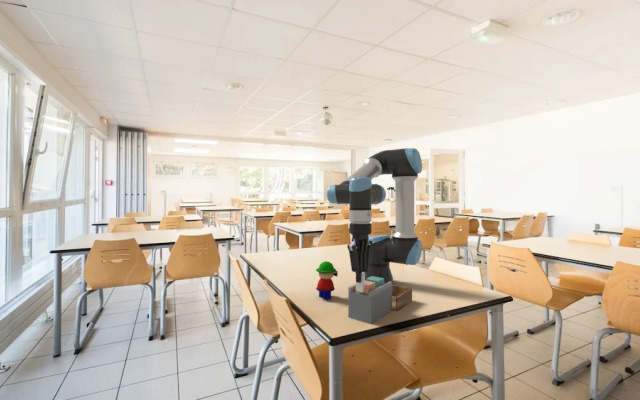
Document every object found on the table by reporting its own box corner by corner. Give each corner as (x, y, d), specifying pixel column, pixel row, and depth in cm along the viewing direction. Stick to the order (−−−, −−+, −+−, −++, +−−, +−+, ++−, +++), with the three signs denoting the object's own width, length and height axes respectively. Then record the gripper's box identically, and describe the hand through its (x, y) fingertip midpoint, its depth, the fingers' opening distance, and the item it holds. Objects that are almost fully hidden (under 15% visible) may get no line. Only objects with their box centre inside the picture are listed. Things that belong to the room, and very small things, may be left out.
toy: (312, 295, 130) (312, 260, 130) (329, 292, 134) (329, 258, 133) (321, 301, 122) (321, 264, 122) (339, 298, 125) (340, 262, 125)
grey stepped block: (348, 317, 106) (348, 287, 106) (370, 304, 119) (370, 277, 119) (371, 323, 101) (371, 292, 101) (392, 309, 113) (392, 281, 113)
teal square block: (365, 286, 112) (365, 278, 112) (372, 283, 115) (372, 276, 115) (377, 289, 108) (377, 281, 108) (384, 286, 112) (384, 278, 112)
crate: (366, 303, 120) (366, 290, 120) (382, 294, 131) (382, 282, 131) (397, 311, 112) (397, 297, 112) (412, 300, 123) (412, 288, 123)
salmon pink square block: (355, 291, 106) (355, 283, 106) (362, 288, 110) (362, 280, 110) (368, 294, 103) (368, 285, 103) (375, 290, 107) (375, 282, 107)
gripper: (359, 224, 96) (359, 298, 96) (379, 221, 106) (379, 288, 107) (340, 223, 101) (340, 293, 101) (360, 220, 111) (360, 284, 111)
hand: (360, 290), depth 104 cm, fingers closed
